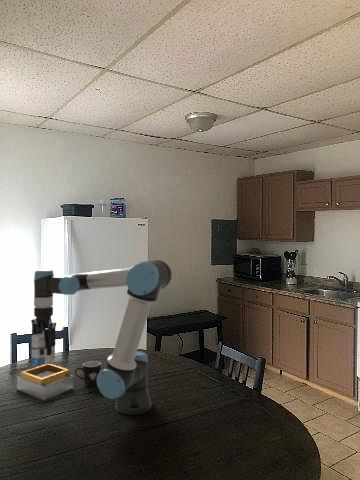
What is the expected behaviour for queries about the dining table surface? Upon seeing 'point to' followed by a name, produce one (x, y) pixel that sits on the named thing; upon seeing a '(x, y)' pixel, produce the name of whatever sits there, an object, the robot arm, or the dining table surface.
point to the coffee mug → (90, 372)
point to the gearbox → (45, 381)
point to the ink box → (40, 349)
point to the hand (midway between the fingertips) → (43, 361)
